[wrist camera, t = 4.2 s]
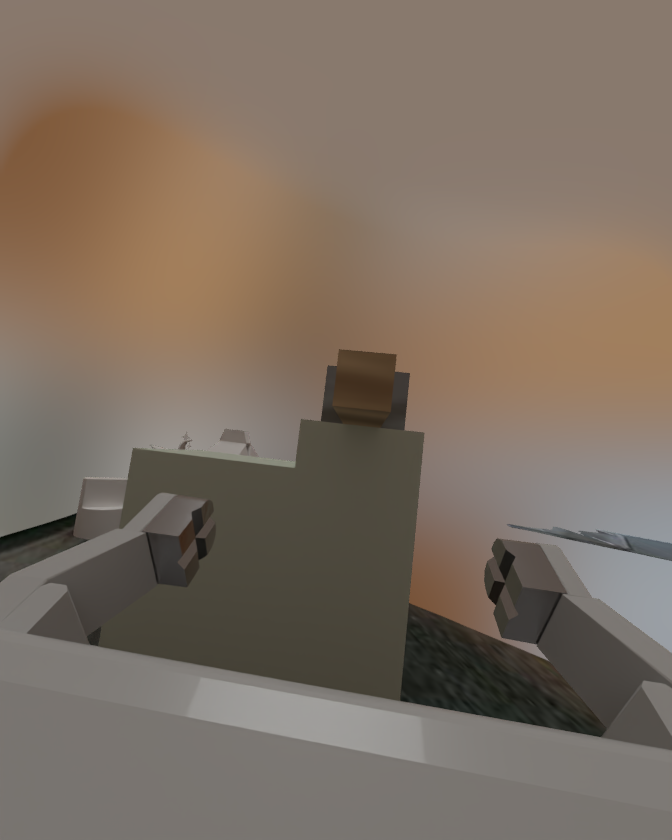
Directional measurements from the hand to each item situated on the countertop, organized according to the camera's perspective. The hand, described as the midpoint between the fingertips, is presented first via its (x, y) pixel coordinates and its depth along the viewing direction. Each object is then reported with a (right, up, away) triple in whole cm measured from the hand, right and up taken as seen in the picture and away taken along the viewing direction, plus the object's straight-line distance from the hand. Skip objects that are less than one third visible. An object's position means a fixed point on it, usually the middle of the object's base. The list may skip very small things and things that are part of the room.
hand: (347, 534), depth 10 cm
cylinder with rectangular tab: (-53, -22, +64) cm, 85 cm away
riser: (-8, -23, +21) cm, 32 cm away
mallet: (+2, +3, +18) cm, 18 cm away
